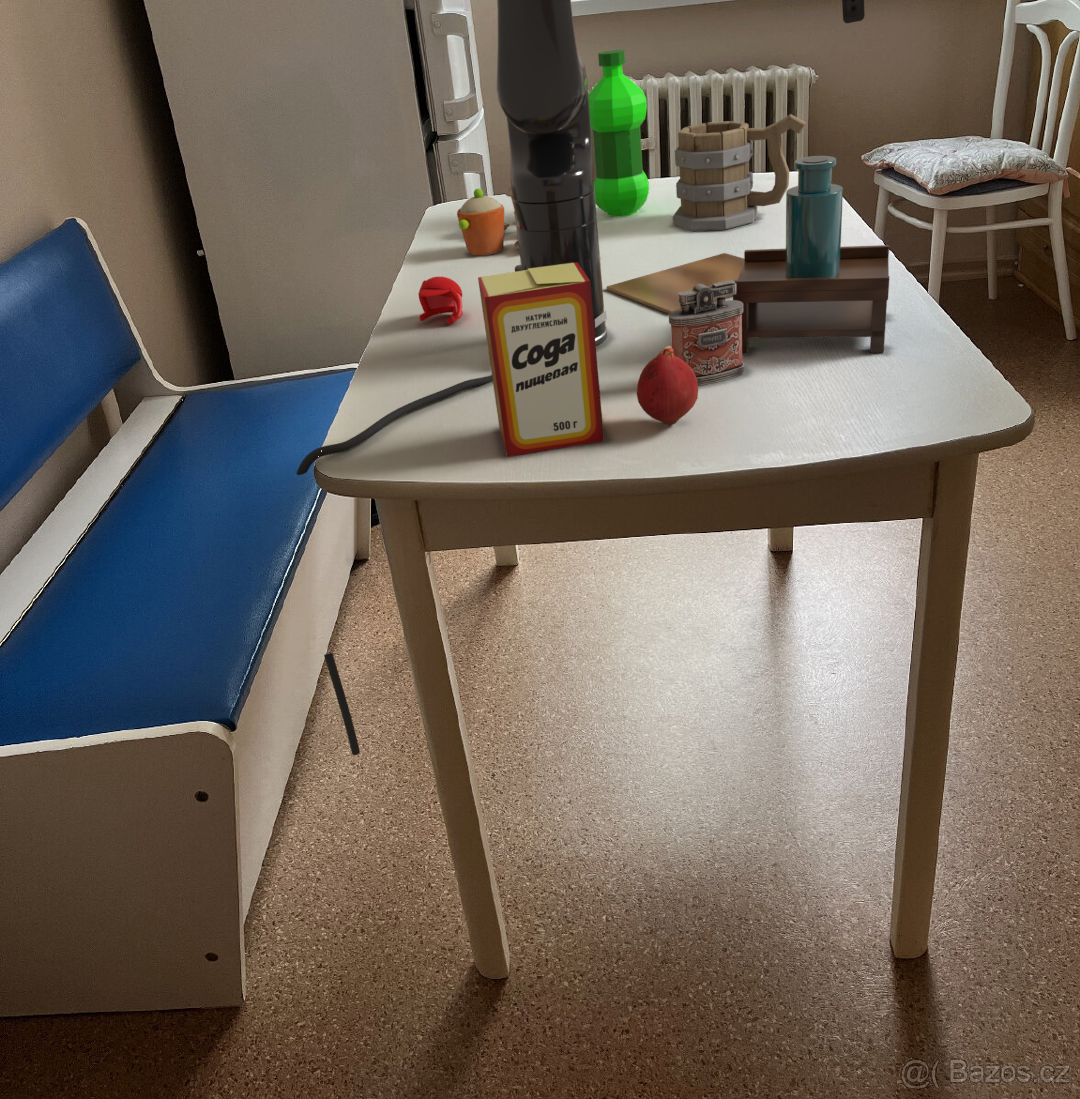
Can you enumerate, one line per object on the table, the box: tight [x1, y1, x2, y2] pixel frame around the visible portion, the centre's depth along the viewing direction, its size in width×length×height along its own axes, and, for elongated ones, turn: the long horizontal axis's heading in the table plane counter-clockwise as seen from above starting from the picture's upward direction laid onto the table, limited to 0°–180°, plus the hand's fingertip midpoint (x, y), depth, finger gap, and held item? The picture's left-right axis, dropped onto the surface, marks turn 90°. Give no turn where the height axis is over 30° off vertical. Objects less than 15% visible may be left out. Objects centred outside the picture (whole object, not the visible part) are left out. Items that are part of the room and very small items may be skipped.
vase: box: [785, 155, 844, 278], centre depth 111 cm, size 6×6×12 cm
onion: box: [636, 345, 699, 426], centre depth 99 cm, size 6×6×8 cm
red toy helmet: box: [417, 276, 464, 326], centre depth 135 cm, size 8×6×6 cm
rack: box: [732, 244, 890, 354], centre depth 115 cm, size 16×12×8 cm
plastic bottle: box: [588, 49, 650, 218], centre depth 169 cm, size 10×10×25 cm
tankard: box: [672, 113, 807, 232], centre depth 160 cm, size 20×13×15 cm, turn 73°
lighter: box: [668, 280, 745, 387], centre depth 107 cm, size 8×3×10 cm, turn 106°
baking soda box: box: [477, 262, 605, 458], centre depth 98 cm, size 10×6×16 cm
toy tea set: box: [456, 186, 519, 256], centre depth 168 cm, size 26×16×10 cm, turn 2°
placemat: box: [606, 252, 745, 315], centre depth 138 cm, size 20×15×1 cm
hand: (854, 13), depth 113 cm, fingers open, 8 cm apart
